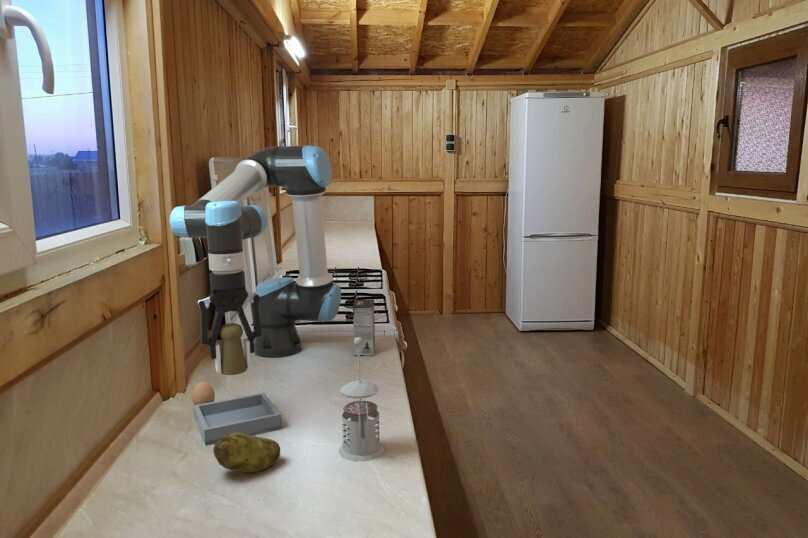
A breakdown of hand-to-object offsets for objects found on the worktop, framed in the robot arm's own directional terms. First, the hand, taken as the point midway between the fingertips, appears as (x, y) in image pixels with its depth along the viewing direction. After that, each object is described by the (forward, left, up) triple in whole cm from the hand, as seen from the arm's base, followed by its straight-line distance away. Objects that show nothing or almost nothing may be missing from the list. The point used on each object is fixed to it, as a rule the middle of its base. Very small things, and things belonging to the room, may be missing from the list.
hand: (233, 368), depth 142 cm
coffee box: (-48, -35, -14) cm, 60 cm away
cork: (0, 0, -1) cm, 1 cm away
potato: (+2, +22, -14) cm, 26 cm away
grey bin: (0, 0, -14) cm, 14 cm away
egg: (+5, -13, -14) cm, 20 cm away
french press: (-21, +26, -14) cm, 36 cm away
